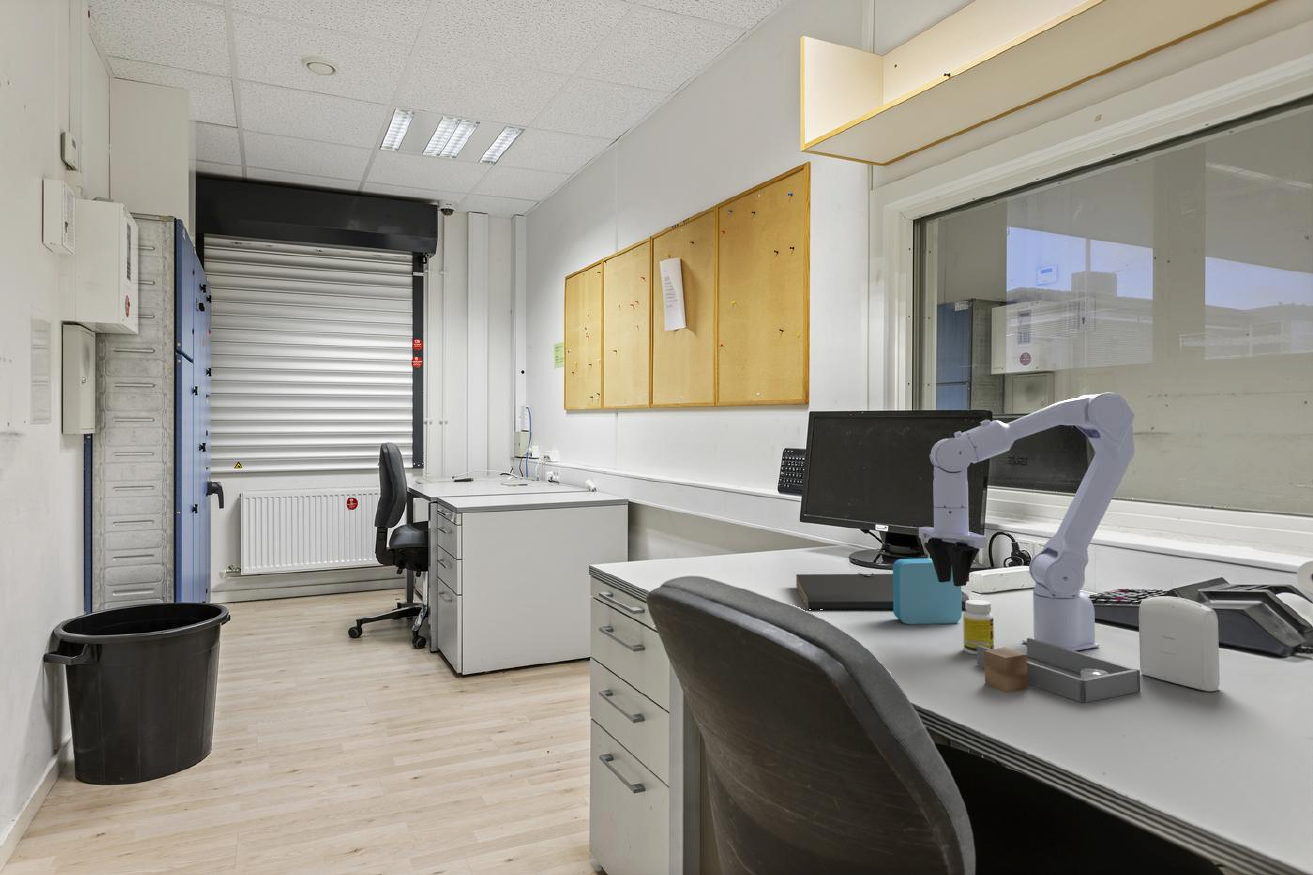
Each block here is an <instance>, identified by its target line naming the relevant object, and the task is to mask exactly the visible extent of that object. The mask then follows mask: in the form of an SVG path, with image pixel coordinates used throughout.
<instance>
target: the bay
mask: <svg viewBox="0 0 1313 875" xmlns="http://www.w3.org/2000/svg"><path fill="white" fill-rule="evenodd" d="M1026 638H1027V643H1026V654H1027V658H1031V659H1034V660H1038V661H1041V662H1045V663H1046V664H1049V665H1053V666H1056V667H1060V668H1062V669H1064V670H1068V671H1071V672H1075V673H1077V674H1080V675H1081V670H1082V669H1098V670H1103V671H1106V672H1108V673H1109V674H1108V675H1102V676H1097V677H1092V678H1087V679H1081V678H1079V677H1076V676H1072V675H1070V674H1067V673H1064V672H1062V671H1058V670H1055V669H1052V668H1048V667H1046V666H1043V665H1040V664H1037V663H1034V662H1031V661H1027V684H1030V685H1032V686H1035V687H1038V688H1041V689H1043V690H1046V691H1049V692H1052V693H1054V694H1057V695H1060V696H1062V697H1066V698H1068V699H1071V700H1074V701H1076V702H1079V703H1083V704H1085V703H1090V702H1094V701H1099V700H1104V699H1109V698H1115V697H1120V696H1124V695H1130V694H1134V693H1138V692H1139V693H1140V692H1141V670H1139V669H1137V668H1133V667H1131V666H1126V665H1122V664H1120V663H1116V662H1113V661H1109V660H1106V659H1102V658H1099V657H1097V656H1092V655H1088V654H1086V653H1083V652H1079V651H1077V650H1076V651H1073V650H1069V649H1066V648H1063V647H1059V646H1056V645H1053V644H1049V643H1046V642H1042V641H1039V640H1036V639H1032V637H1026ZM986 650H992V649H989V648H986V647H983V646H980V645H979V646H977V655H976V664H977V665H978V666H980V667H983V668H985V658H984V651H986Z"/></svg>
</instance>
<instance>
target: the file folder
mask: <svg viewBox="0 0 1313 875" xmlns="http://www.w3.org/2000/svg"><path fill="white" fill-rule="evenodd" d="M795 580H796V582H795V583H796V587H797V588H796V590H797V589H798V590H799V592H800V594H801V596H802V597H801V596H800V597H801V599H802V598H803V599H802V601H803V600H804V601H805V603H804V605H805V604H806V605H805V607H806V606H807V607H806V608H808V609H807V611H821V610H820V609H823V610H822V611H893V573H873V572H871V573H867V574H866V573H860V572H859V573H830V574H829V573H822V574H821V573H819V574H816V573H812V574H809V573H807V574H805V573H804V574H802V573H799V574H796V573H795ZM798 590H797V591H798ZM799 592H798V593H799ZM800 594H799V595H800ZM961 597H962V611H967V610H966V608H965V602H966V601H967V600H970V598H969V596H968V595H967V593H965V592H964V591H962V590H961ZM804 601H803V602H804ZM809 609H811V610H809Z"/></svg>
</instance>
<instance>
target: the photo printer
mask: <svg viewBox="0 0 1313 875" xmlns="http://www.w3.org/2000/svg"><path fill="white" fill-rule="evenodd" d="M1138 635H1139V636H1138V638H1139V639H1138V640H1139V642H1138V643H1139V668H1140V674H1142V675H1143V676H1147V677H1152V678H1155V679H1158V680H1161V681H1166V682H1169V683H1173V684H1178V685H1181V686H1185V687H1189V688H1193V689H1196V690H1199V691H1200V690H1201V691H1204V692H1216V691H1218V690H1219V687H1220V682H1221V680H1220V678H1221V677H1220V650H1219V647H1220V646H1219V644H1220V643H1219V619H1218V615H1217V612H1216V611H1215V610H1214V609H1213V608H1211V607H1208V606H1206V605H1205V604H1202V603H1200V602H1197V601H1194V600H1191V599H1188V598H1183V597H1177V596H1168V595H1166V596H1162V595H1161V596H1153V597H1148V598H1143V599H1142V600H1141V602H1140V604H1139V608H1138Z"/></svg>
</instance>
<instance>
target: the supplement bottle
mask: <svg viewBox="0 0 1313 875" xmlns="http://www.w3.org/2000/svg"><path fill="white" fill-rule="evenodd" d="M965 608H966V610H965V612H963V613H962V615H963V616H962V623H963V624H962V625H963V626H962V627H963V628H962V630H963V651H965V652H966V653H968V654H970V655H976V656H977V646H979V645H980V646H983V647H986V648H989V649H995V638H994V636H995V635H994V634H995V633H994V615H993V614H992V613H991V612H992V603H991V602H990V601H988V600H983V599H969V600H967V601H966V602H965Z"/></svg>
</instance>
